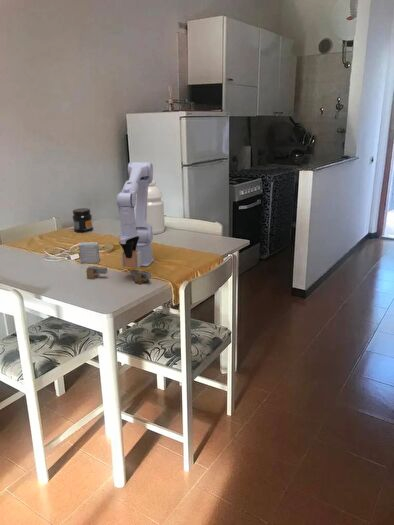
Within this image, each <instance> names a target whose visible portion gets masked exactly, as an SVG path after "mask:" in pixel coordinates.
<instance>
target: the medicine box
mask: <svg viewBox="0 0 394 525" xmlns="http://www.w3.org/2000/svg"><path fill="white" fill-rule="evenodd" d="M78 250H79V258H80V259H79V260H80V264H98V263H100V261H101V257H100V248H99V242H98V241H96V242H95V241H90V242H89V241H88V242H86V241H85V242H81V243H80V244H79V245H78Z"/></svg>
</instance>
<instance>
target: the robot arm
mask: <svg viewBox="0 0 394 525" xmlns="http://www.w3.org/2000/svg"><path fill="white" fill-rule="evenodd" d="M127 173H128V176H129V177H128V180H126V181H125V182H124V185H123V187H122V189H121V191H120V192H119V193H117V195H116V205H117V206H116V207H117V209H118V213H119V219H120V231H121V232H119V234H118V236H119V237H120V239H119V241H118V243H119V245H120V246H121V248H122V251H124V253H125V256H126V258H132V250H134V251H141V264H142V265H141V266H140V267H149V266H150V265H151V264H152V262H154V261H155V258H154V257H153V245H152V242H153V239H154V234H153V232H152V226H151V225H150V224H149V223H147V222H146V218H147V197H148V186H149V184H150V183H152V180H153V179H154V178H153V177H154V167H153V163H152V162H151V161H130V162H128V164H127ZM153 181H154V180H153Z"/></svg>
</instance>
